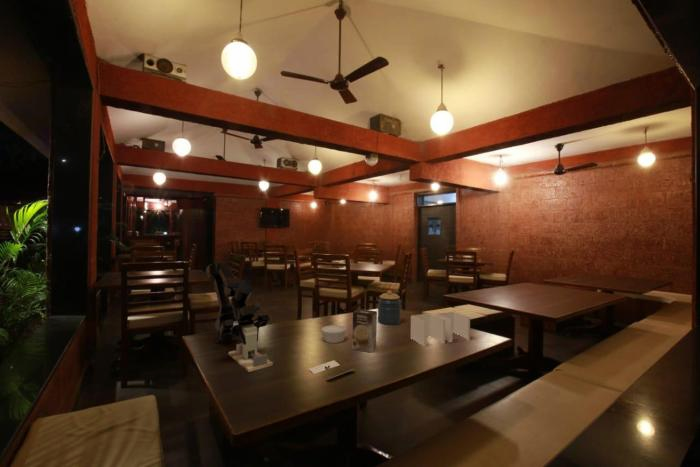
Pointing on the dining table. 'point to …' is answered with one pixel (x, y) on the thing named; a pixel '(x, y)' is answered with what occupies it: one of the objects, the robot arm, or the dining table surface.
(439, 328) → the white folding screen
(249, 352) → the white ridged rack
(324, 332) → the ramekin
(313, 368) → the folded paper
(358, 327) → the coffee box
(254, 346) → the marker sleeve
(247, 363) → the cable comb board
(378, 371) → the dining table surface
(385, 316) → the canister
